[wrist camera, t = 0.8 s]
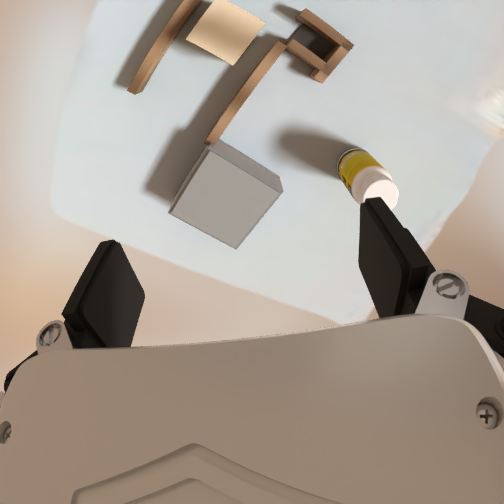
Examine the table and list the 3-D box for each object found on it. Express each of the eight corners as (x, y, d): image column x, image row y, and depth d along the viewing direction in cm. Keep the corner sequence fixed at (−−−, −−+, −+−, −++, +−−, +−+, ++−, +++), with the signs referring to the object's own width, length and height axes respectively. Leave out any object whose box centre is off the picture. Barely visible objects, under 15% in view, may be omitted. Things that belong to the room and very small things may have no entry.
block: (221, 4, 23) (217, -4, 19) (262, 28, 25) (265, 23, 21) (194, 41, 26) (185, 39, 22) (234, 64, 27) (233, 65, 23)
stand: (213, 135, 32) (209, 146, 29) (279, 176, 35) (283, 192, 32) (174, 196, 36) (167, 214, 33) (236, 230, 39) (236, 251, 36)
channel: (219, -35, 20) (217, -42, 18) (346, 45, 26) (354, 45, 24) (130, 95, 29) (122, 98, 27) (252, 164, 34) (252, 172, 32)
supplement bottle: (327, 167, 35) (349, 200, 28) (354, 139, 32) (383, 165, 26) (354, 191, 36) (378, 227, 30) (380, 164, 34) (410, 195, 27)
